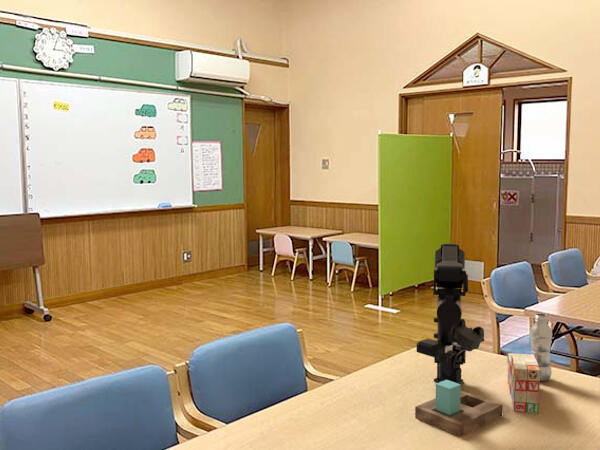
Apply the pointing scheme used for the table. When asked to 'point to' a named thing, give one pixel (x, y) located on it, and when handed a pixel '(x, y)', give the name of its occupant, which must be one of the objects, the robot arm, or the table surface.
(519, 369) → the stack of blocks
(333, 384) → the table surface
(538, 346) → the plastic bottle
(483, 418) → the walnut board
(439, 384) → the teal peg
